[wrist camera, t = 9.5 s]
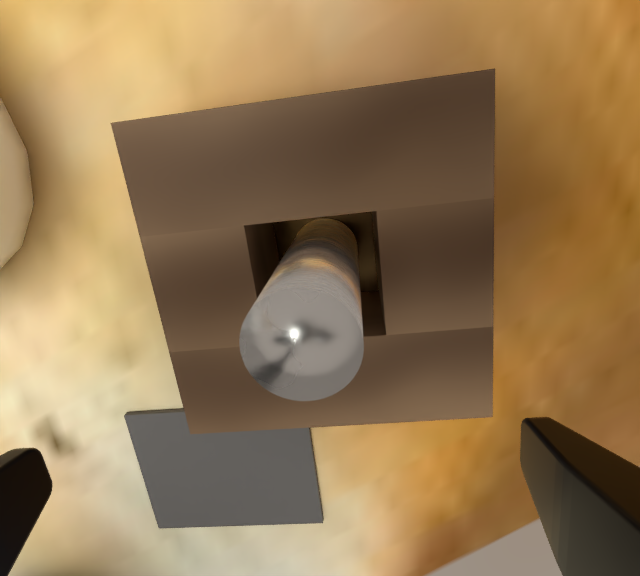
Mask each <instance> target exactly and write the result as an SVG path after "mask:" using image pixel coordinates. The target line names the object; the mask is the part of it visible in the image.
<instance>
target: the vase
mask: <svg viewBox="0 0 640 576" xmlns="http://www.w3.org/2000/svg"><path fill="white" fill-rule="evenodd" d="M33 205H34V200H33V192H32V184H31V176H30V168H29V160H28V153H27V150H26V148H25V146H24V144H23V142H22V140H21V138H20V136H19V134H18V132H17V130H16V128H15V126H14V123H13V121H12V119H11V117H10V115H9V113H8V111H7V109H6V107H5V105H4V103H3V101H2V99H1V98H0V269H1V268H2V267H3V266H4V265H5V264H6V263H7V261H8V260H9V259H10V258H11V257H12V256H13V255H14V254H15V253H16V252H17V251H18V250H19V249H20V248H21V247H22V244H23V241H24V237H25V234H26V230H27V227H28V223H29V220H30V216H31V213H32V209H33Z"/></svg>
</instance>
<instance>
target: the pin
mask: <svg viewBox="0 0 640 576" xmlns="http://www.w3.org/2000/svg"><path fill="white" fill-rule="evenodd" d="M239 345H240V353H241V356H242V360H243V362H244V364H245V367H246V368H247V370H248V372H249V373H250V374H251V376H252V377H253V378H254V379H255V380H256V381H257V382H258V383H259V384H260V385H261V386H262V387H264V388H265V389H266V390H268V391H270V392H271V393H273V394H275V395H277V396H280V397H283V398H286V399H290V400H296V401H313V400H319V399H323V398H326V397H329V396H331V395H333V394H335V393H337V392H339V391H340V390H342V389H343V388H344V387H345V386H347V385H348V384H349V383H350V382H351V380H352V379H353V378H354V377H355V375H356V373H357V372H358V370H359V368H360V365H361V362H362V359H363V352H364V341H363V324H362V308H361V292H360V276H359V260H358V246H357V241H356V238H355V236H354V234H353V233H352V231H351V230H350V229H349V228H348V227H347V226H346V225H345V224H343V223H342V222H340V221H338V220H335V219H331V218H320V219H316V220H313V221H311V222H309V223H307V224H306V225H305V226H303V227H302V228H301V230H300V231H299V232H298V234H297V235H296V237H295V239H294V240H293V242H292V243H291V245H290V247H289V248H288V250H287V251H286V253H285V255H284V256H283V258H282V260H281V261H280V263H279V264H278V266H277V268H276V269H275V271H274V272H273V274H272V276H271V277H270V279H269V280H268V282H267V284H266V285H265V287H264V288H263V290H262V292H261V293H260V295H259V296H258V298H257V300H256V301H255V303H254V304H253V306H252V308H251V309H250V311H249V312H248V314H247V316H246V318H245V320H244V322H243V324H242V327H241V331H240V338H239Z"/></svg>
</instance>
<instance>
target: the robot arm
mask: <svg viewBox="0 0 640 576" xmlns="http://www.w3.org/2000/svg"><path fill="white" fill-rule="evenodd" d="M520 462H521V467H522V471H523V474H524V477H525V480H526V482H527V485H528V488H529V490H530V493H531V496H532V498H533V501H534V504H535V506H536V509H537V512H538V514H539V517H540V520H541V522H542V525H543V528H544V530H545V533H546V535H547V538H548V541H549V544H550V546H551V549H552V551H553V554H554V557H555V559H556V562H557V564H558V566H559V568H560V571H561V572H562V575H563V576H640V467H638V466H636V465H634V464H632V463H631V462H629V461H627V460H625V459H623V458H622V457H620V456H618V455H616V454H614V453H613V452H611V451H609V450H607V449H605V448H604V447H602V446H600V445H598V444H596V443H595V442H593V441H591V440H589V439H587V438H586V437H584V436H582V435H580V434H578V433H577V432H575V431H573V430H571V429H569V428H568V427H566V426H564V425H562V424H560V423H559V422H557V421H555V420H553V419H551V418H549V417H535V418H525V419H524V420H523V421H522V424H521V444H520ZM51 491H52V480H51V477H50V475H49V472H48V469H47V467H46V464H45V462H44V459H43V456H42V454H41V452H40V451H39V450H38V449H36V448H19V449H13V450H11V451H8V452H6V453H4V454H2V455H0V576H8V574H9V572H10V571H11V569H12V567H13V565H14V563H15V561H16V560H17V558H18V556H19V554H20V552H21V550H22V548H23V546H24V544H25V542H26V541H27V539H28V537H29V535H30V533H31V531H32V529H33V527H34V525H35V523H36V522H37V520H38V518H39V516H40V514H41V512H42V510H43V508H44V506H45V504H46V503H47V501H48V499H49V497H50V495H51Z"/></svg>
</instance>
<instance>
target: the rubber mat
mask: <svg viewBox="0 0 640 576" xmlns="http://www.w3.org/2000/svg"><path fill="white" fill-rule="evenodd" d="M124 417H125V420H126V423H127V426H128V430H129V433H130V436H131V439H132V443H133V446H134V449H135V452H136V456H137V459H138V462H139V465H140V469H141V472H142V475H143V478H144V482H145V485H146V488H147V491H148V495H149V498H150V501H151V504H152V508H153V511H154V514H155V517H156V521H157V524H158V527H159V528H185V527H216V526H246V525H277V524H307V523H323V513H322V507H321V500H320V493H319V487H318V480H317V473H316V467H315V460H314V454H313V447H312V440H311V434H310V428H293V429H275V430H258V431H240V432H223V433H205V434H190V431H189V427H188V423H187V419H186V415H185V411H184V409H170V410H155V411H139V412H127V413H126V414H125V415H124Z"/></svg>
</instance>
